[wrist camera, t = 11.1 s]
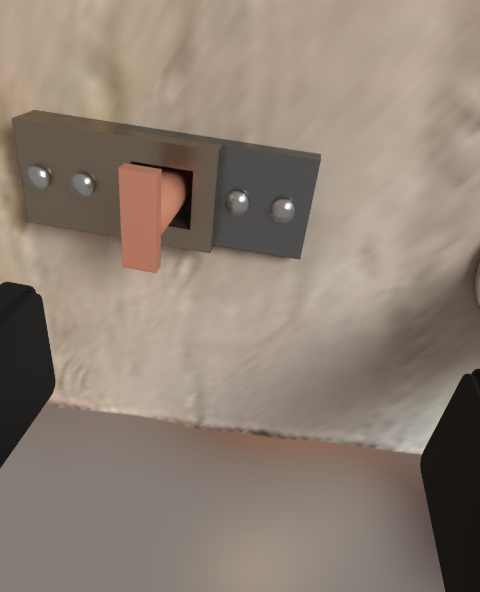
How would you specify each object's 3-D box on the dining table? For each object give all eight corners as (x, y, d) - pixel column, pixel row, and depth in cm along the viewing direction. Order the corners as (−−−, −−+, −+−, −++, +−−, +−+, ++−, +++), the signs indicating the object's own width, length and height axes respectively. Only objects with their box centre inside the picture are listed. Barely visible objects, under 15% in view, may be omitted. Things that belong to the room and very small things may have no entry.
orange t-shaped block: (194, 141, 34) (163, 175, 27) (190, 226, 38) (161, 274, 31) (153, 135, 34) (112, 166, 28) (153, 220, 38) (116, 266, 31)
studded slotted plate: (320, 154, 33) (320, 169, 30) (300, 251, 37) (298, 272, 34) (34, 110, 35) (6, 120, 32) (47, 207, 39) (24, 224, 36)
